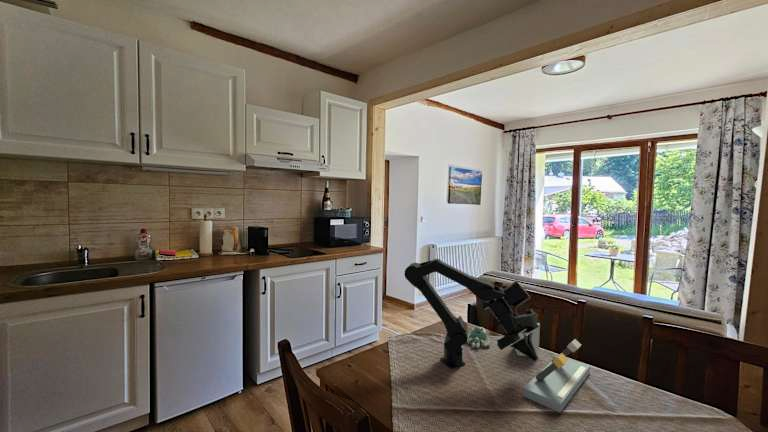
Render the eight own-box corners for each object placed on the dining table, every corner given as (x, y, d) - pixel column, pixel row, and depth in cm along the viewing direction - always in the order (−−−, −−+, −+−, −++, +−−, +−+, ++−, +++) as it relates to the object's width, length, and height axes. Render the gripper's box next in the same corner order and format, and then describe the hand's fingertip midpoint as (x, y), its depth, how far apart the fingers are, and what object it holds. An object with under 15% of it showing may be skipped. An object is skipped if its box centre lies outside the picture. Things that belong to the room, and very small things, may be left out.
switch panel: (523, 396, 94) (523, 387, 94) (557, 361, 115) (557, 354, 115) (560, 412, 87) (560, 403, 87) (589, 373, 108) (590, 365, 108)
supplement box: (538, 358, 118) (540, 324, 117) (517, 355, 119) (519, 322, 118) (533, 349, 125) (535, 317, 124) (513, 346, 126) (515, 315, 126)
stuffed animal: (461, 334, 124) (466, 318, 135) (461, 350, 126) (466, 333, 136) (490, 340, 120) (493, 323, 130) (489, 356, 121) (493, 338, 132)
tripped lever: (533, 376, 98) (557, 357, 93) (538, 372, 101) (562, 352, 96) (539, 384, 97) (564, 364, 92) (544, 379, 99) (568, 360, 94)
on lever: (549, 361, 108) (571, 342, 103) (553, 357, 111) (575, 338, 106) (555, 367, 106) (578, 348, 102) (559, 363, 109) (581, 344, 104)
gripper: (509, 308, 95) (545, 359, 88) (534, 297, 108) (567, 340, 101) (483, 326, 102) (515, 374, 94) (510, 313, 114) (540, 354, 107)
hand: (536, 360), depth 99 cm, fingers closed
